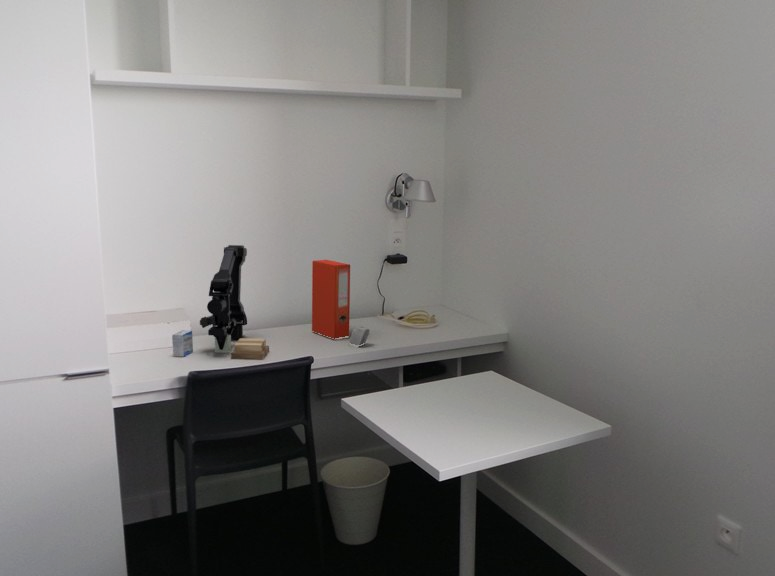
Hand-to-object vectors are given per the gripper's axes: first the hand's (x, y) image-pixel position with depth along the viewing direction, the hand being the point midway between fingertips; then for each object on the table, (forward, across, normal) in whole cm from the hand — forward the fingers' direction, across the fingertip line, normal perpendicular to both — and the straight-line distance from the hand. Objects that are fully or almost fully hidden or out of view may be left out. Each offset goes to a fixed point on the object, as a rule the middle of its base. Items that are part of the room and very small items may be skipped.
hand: (223, 347), depth 272 cm
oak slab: (-1, +5, +12) cm, 13 cm away
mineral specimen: (+2, -14, +53) cm, 55 cm away
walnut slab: (+2, +5, +12) cm, 13 cm away
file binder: (+2, -30, +39) cm, 49 cm away
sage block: (+1, 0, 0) cm, 1 cm away
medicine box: (+2, +6, -14) cm, 15 cm away
